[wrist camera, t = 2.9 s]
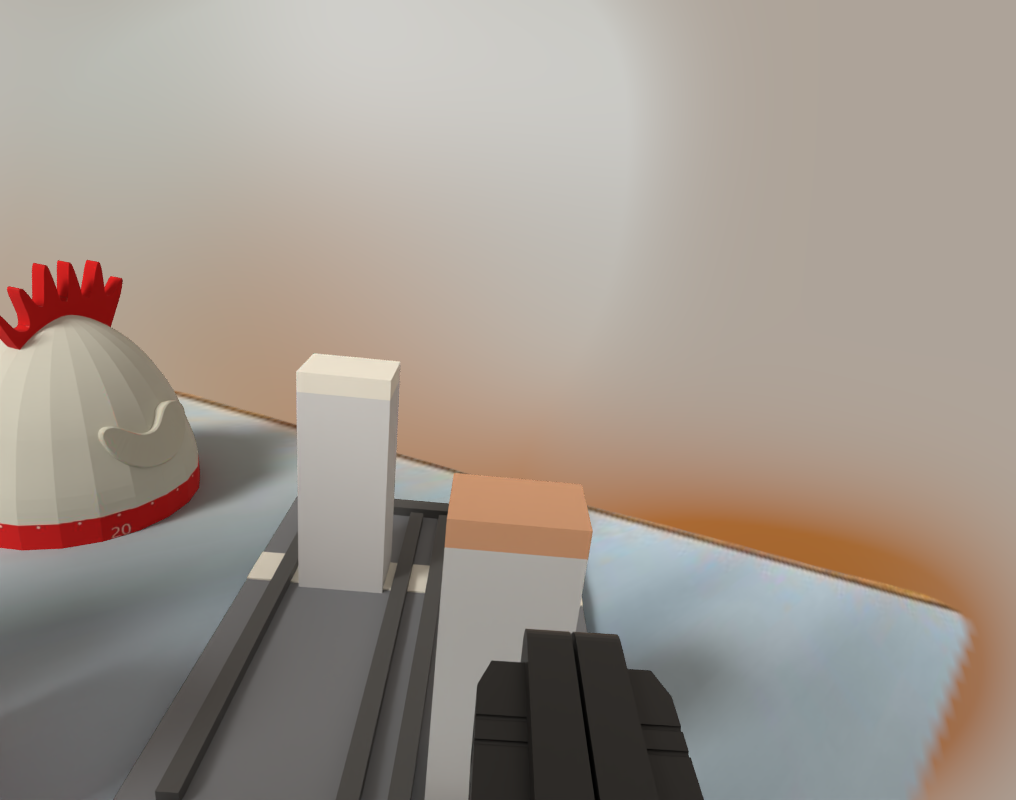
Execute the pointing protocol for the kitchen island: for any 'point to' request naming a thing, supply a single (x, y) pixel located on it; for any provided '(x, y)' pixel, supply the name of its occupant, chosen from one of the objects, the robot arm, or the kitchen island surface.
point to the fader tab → (498, 598)
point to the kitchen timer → (84, 420)
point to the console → (320, 626)
